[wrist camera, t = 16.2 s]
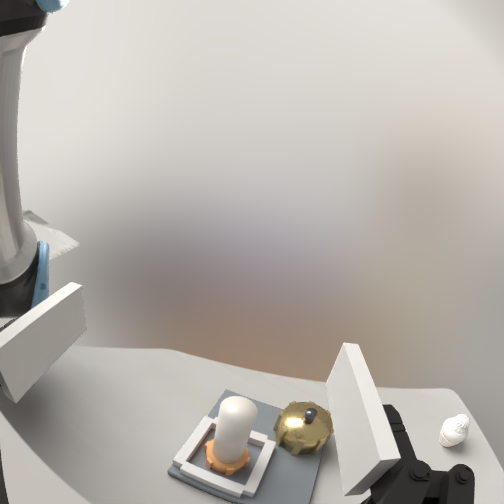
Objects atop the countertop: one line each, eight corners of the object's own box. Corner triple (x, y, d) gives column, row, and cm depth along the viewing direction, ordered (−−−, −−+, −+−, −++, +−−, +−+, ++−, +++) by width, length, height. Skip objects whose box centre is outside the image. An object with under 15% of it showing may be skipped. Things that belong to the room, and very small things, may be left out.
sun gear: (265, 446, 32) (275, 423, 31) (280, 410, 40) (290, 385, 38) (321, 462, 30) (336, 440, 29) (329, 423, 38) (342, 399, 36)
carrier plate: (167, 473, 26) (167, 465, 25) (225, 393, 43) (227, 383, 43) (301, 521, 21) (308, 515, 20) (326, 425, 39) (331, 416, 38)
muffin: (447, 457, 29) (470, 433, 26) (427, 439, 34) (448, 414, 32) (461, 442, 31) (482, 418, 29) (443, 426, 36) (462, 401, 34)
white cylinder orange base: (196, 463, 28) (201, 415, 24) (213, 436, 33) (223, 384, 30) (239, 481, 26) (257, 437, 23) (253, 451, 31) (272, 401, 28)
